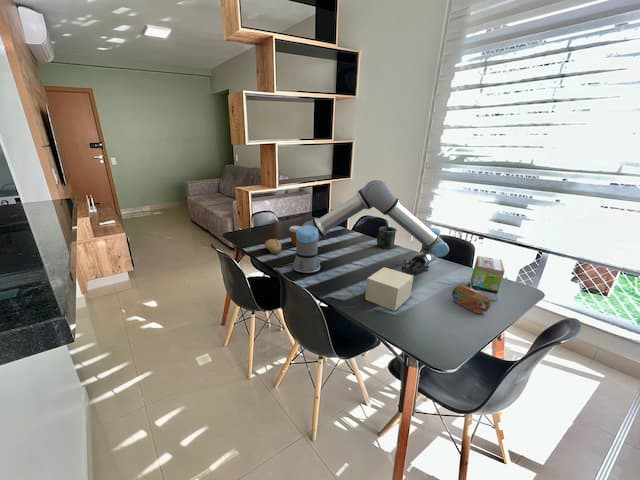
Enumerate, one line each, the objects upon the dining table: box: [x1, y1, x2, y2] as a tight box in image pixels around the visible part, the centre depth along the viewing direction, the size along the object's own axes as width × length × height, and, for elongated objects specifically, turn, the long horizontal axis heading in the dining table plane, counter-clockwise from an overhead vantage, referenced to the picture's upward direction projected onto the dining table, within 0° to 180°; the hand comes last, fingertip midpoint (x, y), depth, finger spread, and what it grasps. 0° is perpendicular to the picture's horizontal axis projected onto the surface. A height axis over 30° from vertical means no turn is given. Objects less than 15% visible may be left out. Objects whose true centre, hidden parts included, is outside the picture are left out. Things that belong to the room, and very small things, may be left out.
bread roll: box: [264, 238, 283, 255], centre depth 186 cm, size 10×15×8 cm, turn 28°
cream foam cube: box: [364, 266, 414, 312], centre depth 128 cm, size 16×14×11 cm
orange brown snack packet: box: [451, 285, 492, 314], centre depth 121 cm, size 15×3×8 cm, turn 23°
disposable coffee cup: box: [288, 225, 302, 247], centre depth 197 cm, size 10×10×12 cm
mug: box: [376, 226, 397, 250], centre depth 189 cm, size 11×15×12 cm
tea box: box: [469, 255, 505, 301], centre depth 132 cm, size 15×10×15 cm, turn 148°
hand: (402, 275), depth 137 cm, fingers closed
